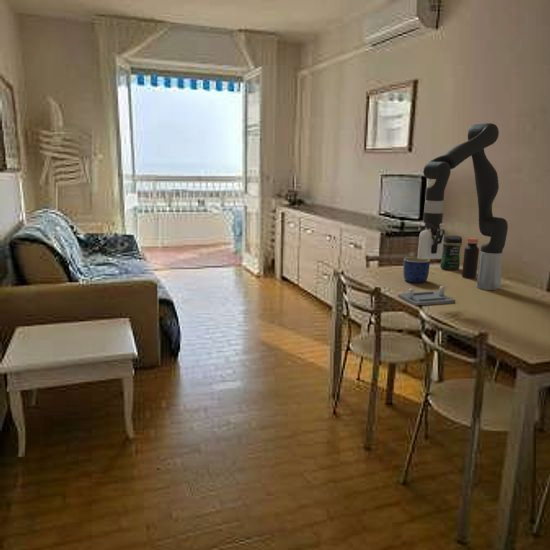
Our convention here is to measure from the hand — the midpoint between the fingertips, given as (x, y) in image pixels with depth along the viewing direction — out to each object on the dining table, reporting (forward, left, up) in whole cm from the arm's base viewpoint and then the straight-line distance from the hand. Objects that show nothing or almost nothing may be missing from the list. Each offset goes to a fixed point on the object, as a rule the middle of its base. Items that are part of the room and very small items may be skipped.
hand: (430, 252), depth 201 cm
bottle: (-44, -30, -21) cm, 57 cm away
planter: (-13, -30, -21) cm, 39 cm away
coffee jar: (-46, -49, -21) cm, 70 cm away
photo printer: (0, 0, -3) cm, 3 cm away
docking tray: (0, 0, -21) cm, 21 cm away
